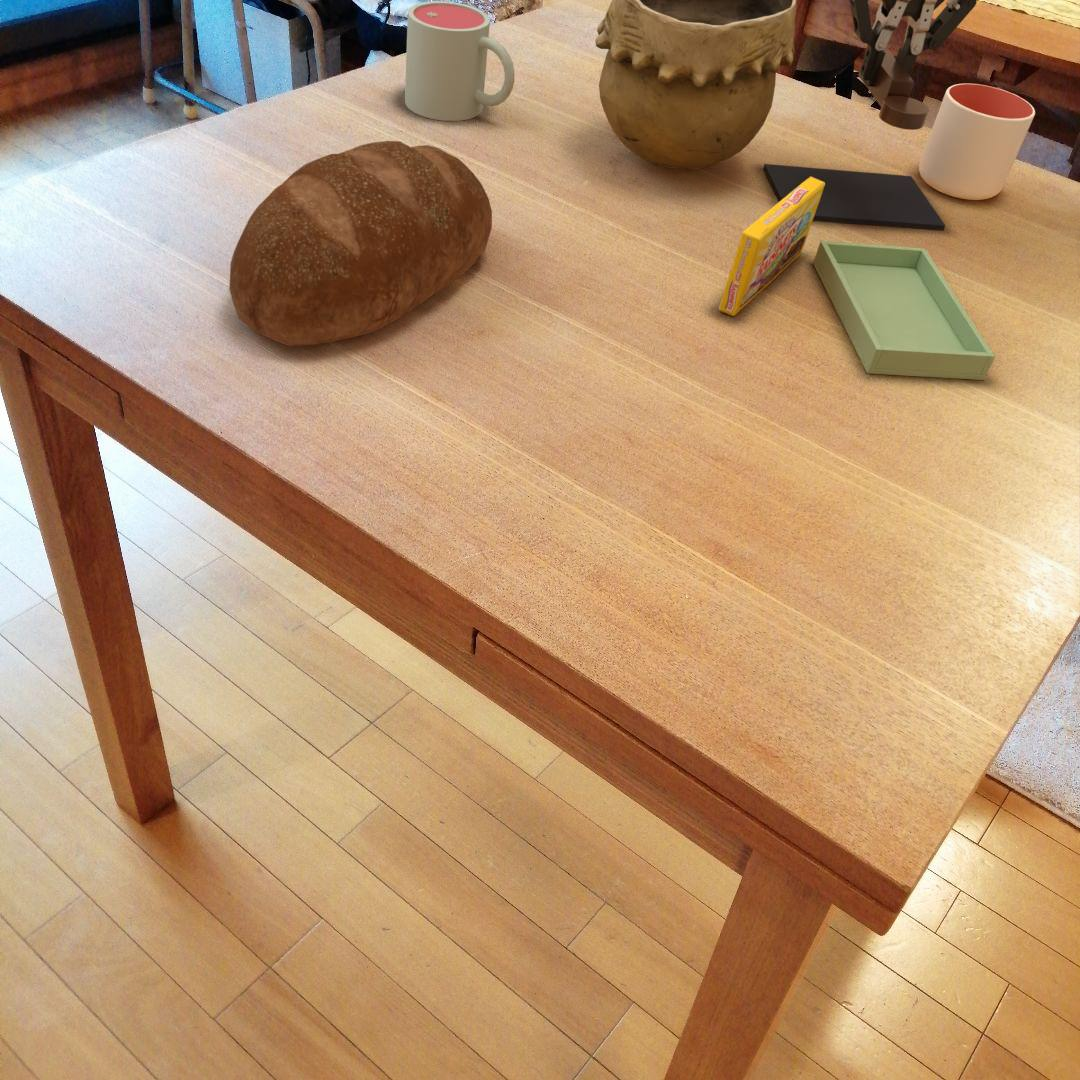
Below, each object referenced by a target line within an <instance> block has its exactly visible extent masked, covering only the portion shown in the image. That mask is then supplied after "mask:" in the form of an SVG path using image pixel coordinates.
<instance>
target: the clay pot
mask: <svg viewBox="0 0 1080 1080" xmlns="http://www.w3.org/2000/svg"><path fill="white" fill-rule="evenodd" d="M796 14H797V0H611V2H610V4H609V6H608V9H607V10H606V13H605V15H604V18H602V20H601V22H600V23H599V24H598V26H597V29H596V31H597V36H596V37H595V41H594V42H595V47H596V48H598V49H600V50H602V49H603V50H607V52H606V55H605V59H604V62H603V65H602V69H601V73H600V78H599V82H598V90H599V100H600V103H601V106H602V109H603V112H604V115H605V117H606V119H607V122H608V123H609V126H610V127H611V130H612V131H613V133H614V134H615V136H616V137H617V139H618V140H619V141H620V142H621V143H622V144H623V145H624V146H625V148H627V149H629V150H630V151H631V152H632V153H634V154H635V155H637V156H639V157H640V158H643V159H644V160H646V161H648V162H649V163H652V164H653V165H657V166H660V167H664V168H667V169H668V168H669V169H679V170H697V169H703V168H708V167H712V166H716V165H718V164H721V163H724V162H725V161H727V160H729V159H731V158H732V157H734V156H736V155H737V154H739V153H741V152H742V151H743V150H744V149H746V147H747V146H748V145H749V144H750V143H751V142H752V141H753V140H754V139H755V137H756V136H757V135H758V133H759V132H760V130H761V129H762V128H763V126H764V124H765V123H766V120H767V118H768V115H769V114H770V111H771V109H772V105H773V102H774V96H775V89H776V81H777V79H776V78H777V73H778V71H780V66H785V67H792V64H793V61H794V57H795V54H796V53H795V47H794V46H795V45H794V39H795V29H796V16H797V15H796Z"/></svg>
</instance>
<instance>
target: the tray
mask: <svg viewBox="0 0 1080 1080" xmlns="http://www.w3.org/2000/svg"><path fill="white" fill-rule="evenodd" d="M812 264H813V266H814V268H815V270H816V272H817V274H818V276H819V278H820V280H821V282H822V285H823V287H824V289H825V291H826V293H827V295H828V296H829V298H830V301H831V303H832V305H833V307H834V309H835V311H836V313H837V316H838V317H839V320H840V321H841V324H842V325H843V327H844V329H845V331H846V333H847V336H848V337H849V339H850V341H851V343H852V345H853V347H854V349H855V352H856V353H857V356H858V358H859V359H860V361H861V364H862V365H863V368H864V370H865V373H866V374H869V375H872V374H873V375H891V376H907V377H925V378H926V377H927V378H941V379H942V378H943V379H960V380H975V381H977V380H978V381H984V380H985V379H986V377H987V375H988V372H989V371H990V368H991V366H992V364H993V363H994V360H995V359H996V355H995V354H994V352H993V351H992V349H991V347H990V346H989V344H988V343H987V341H986V340H985V338H984V337H983V335H982V334H981V331H980V330H979V329H978V327H977V326H976V324H975V323H974V321H973V319H972V318H971V316H970V315H969V314H968V312H967V310H966V309H965V307H964V306H963V304H962V302H961V301H960V300H959V298H958V297H957V295H956V294H955V292H954V291H953V289H952V287H951V286H950V284H949V282H948V281H947V279H946V278H945V276H944V275H943V273H942V272H941V270H940V269H939V267H938V266H937V264H936V263H935V261H934V259H933V258H932V256H931V255H930V253H929V251H928V250H927V249H926V248H924V247H914V246H913V247H912V246H911V247H910V246H898V245H886V244H885V245H883V244H871V243H860V242H859V243H857V242H844V241H831V240H820V241H819V244H818V247H817V251H816V253H815V257H814V259H813V262H812Z"/></svg>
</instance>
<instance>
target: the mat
mask: <svg viewBox="0 0 1080 1080" xmlns="http://www.w3.org/2000/svg"><path fill="white" fill-rule="evenodd" d="M762 169H763V171H764V174H765V175H766V177H767V179H768V181H769V184H770V186H771V187H772V189H773V192H774V194H775V196H776V198H777V200H778V203H779V202H780V201H781V200H782V199H783V198H785V197H786V196H787V195H788V194H789V193H791V192H792V191H793V190H794V189H796V188H797V187H798V186H799V185H800V184H802V183H803V182H804V181H806V180H807V179H808V178H810V177H813V178H815V179H818V180H820V181H823V182H825V186H824V189H823V192H822V195H821V198H820V201H819V204H818V206H817V209H816V212H815V215H814V218H813V221H817V222H829V223H842V224H853V225H866V226H867V225H869V226H883V227H893V228H894V227H895V228H906V229H907V228H908V229H920V230H921V229H923V230H924V229H925V230H933V231H944V230H945V229H946V224H945V222H944V221H943V220H942V219H941V217H940V215H939V214H938V212H937V211H936V209H935V208H934V207H933V205H932V204H931V203H930V201H929V199H927V197H926V195H925V194H924V192H923V191H922V190H921V188H920V187H919V186H918V184H917V182H916V181H915V180H914V178H913V176H911V175H902V174H889V173H879V172H865V171H856V170H855V171H854V170H842V169H832V168H830V169H829V168H819V167H806V166H797V165H796V166H794V165H782V164H771V163H770V164H769V163H764V164H763V167H762Z"/></svg>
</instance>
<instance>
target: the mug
mask: <svg viewBox="0 0 1080 1080" xmlns="http://www.w3.org/2000/svg"><path fill="white" fill-rule="evenodd" d="M406 24H407V26H406V27H407V28H406V53H405V54H406V55H405V56H406V58H405V85H404V86H405V87H404V104H405V106H406V108H407V109H408V110H410V111H411V112H413V113H414V114H416V115H418V116H421V117H424V118H427V119H431V120H435V121H444V122H460V121H466V120H470V119H473V118H476V117H478V116H479V115H480V114H481V113H482V112H483V109H484V106H488V107H494V106H495V107H496V106H499V105H501V104H503V103H505V101H506V100H507V99H508V98H509V97H510V96H511V93H512V92H513V89H514V84H515V67H514V63H513V60H512V58H511V54H510V53H509V52H508V50H507V49H506V47H505V46H504V45H503V44H502V43H501V42H499V41H498V40H496V39H495V38H493V37H490V25H491V19H490V16H489V15H488V14H487V13H486V12H485V11H483V10H482V9H479V8H477V7H474V6H472V5H469V4H465V3H460V2H455V1H447V0H446V1H445V0H431V1H423V2H419V3H416V4H413V5H412V6H410V7H409V8H408V10H407V23H406ZM488 51H492V53H494V54H495V55H496V56H497V57H498V59H499V60H500V63H501V65H502V67H503V72H504V81H503V84H502V87H501V89H500V90H499V91H498V92H497V93H495V94H486V93H485V86H486V73H487V63H488V61H487V60H488Z"/></svg>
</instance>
